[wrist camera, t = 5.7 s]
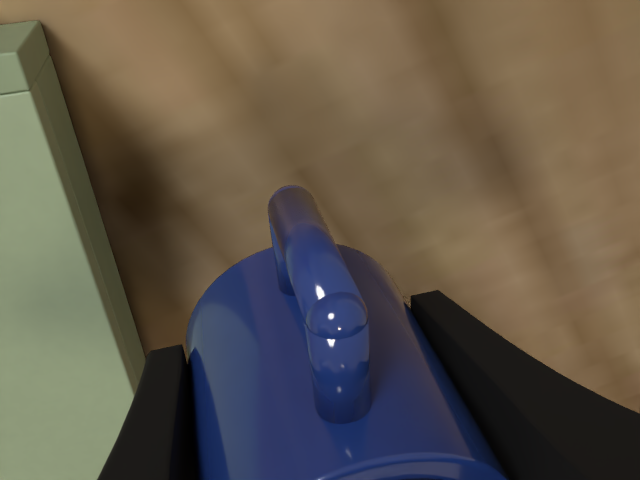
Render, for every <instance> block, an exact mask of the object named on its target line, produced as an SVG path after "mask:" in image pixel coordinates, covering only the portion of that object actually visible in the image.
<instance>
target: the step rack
mask: <svg viewBox="0 0 640 480" xmlns="http://www.w3.org/2000/svg"><path fill="white" fill-rule="evenodd" d="M145 362H146V359H145V355H144V352H143V349H142V346H141V343H140V339H139V336H138V333H137V330H136V327H135V323H134V320H133V317H132V314H131V311H130V307H129V304H128V301H127V298H126V295H125V291H124V288H123V285H122V282H121V279H120V275H119V272H118V269H117V266H116V263H115V260H114V256H113V253H112V250H111V247H110V244H109V240H108V237H107V234H106V231H105V228H104V224H103V221H102V218H101V215H100V212H99V208H98V205H97V202H96V199H95V196H94V192H93V189H92V186H91V183H90V180H89V176H88V173H87V170H86V167H85V164H84V161H83V157H82V154H81V151H80V148H79V145H78V141H77V138H76V135H75V132H74V129H73V125H72V122H71V119H70V116H69V113H68V109H67V106H66V103H65V100H64V97H63V93H62V90H61V87H60V84H59V81H58V77H57V74H56V71H55V68H54V65H53V62H52V58H51V56H50V55H49V48H48V45H47V42H46V39H45V36H44V32H43V29H42V26H41V23H40V21H28V22H20V23H12V24H4V25H0V480H97V479H98V477H99V475H100V473H101V471H102V469H103V466H104V464H105V462H106V460H107V458H108V456H109V454H110V452H111V450H112V448H113V446H114V444H115V442H116V440H117V437H118V435H119V433H120V430H121V428H122V425H123V423H124V421H125V418H126V416H127V413H128V411H129V409H130V406H131V404H132V401H133V398H134V395H135V393H136V390H137V387H138V384H139V381H140V378H141V375H142V372H143V369H144V365H145Z"/></svg>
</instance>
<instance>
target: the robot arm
mask: <svg viewBox="0 0 640 480" xmlns="http://www.w3.org/2000/svg"><path fill="white" fill-rule="evenodd" d="M411 311H412V313H413V314H414V316H415V318H416V320H417V321H418V323H419V325H420V326H421V328H422V330H423V332H424V333H425V335H426V337H427V338H428V340H429V342H430V344H431V345H432V347H433V349H434V350H435V352H436V354H437V356H438V357H439V359H440V361H441V362H442V364H443V366H444V368H445V369H446V371H447V373H448V374H449V376H450V378H451V380H452V381H453V383H454V385H455V386H456V388H457V390H458V391H459V393H460V395H461V397H462V398H463V400H464V402H465V403H466V405H467V407H468V409H469V410H470V412H471V414H472V415H473V417H474V419H475V421H476V422H477V424H478V426H479V427H480V429H481V431H482V433H483V434H484V436H485V438H486V439H487V441H488V443H489V445H490V446H491V448H492V450H493V451H494V453H495V455H496V457H497V458H498V460H499V462H500V463H501V465H502V467H503V469H504V470H505V472H506V474H507V475H508V477H509V479H510V480H640V414H639V413H637V412H635V411H632V410H630V409H628V408H625V407H623V406H621V405H619V404H617V403H615V402H613V401H611V400H608V399H606V398H604V397H602V396H601V395H599V394H597V393H595V392H593V391H591V390H589V389H587V388H585V387H583V386H581V385H579V384H577V383H575V382H574V381H572V380H570V379H568V378H566V377H565V376H563V375H561V374H559V373H558V372H556V371H554V370H553V369H551V368H549V367H548V366H546V365H545V364H543V363H541V362H540V361H538V360H536V359H535V358H533V357H531V356H530V355H528V354H527V353H525V352H524V351H522V350H521V349H519V348H518V347H516V346H515V345H513V344H512V343H510V342H509V341H507V340H506V339H504V338H503V337H502V336H500V335H499V334H497V333H496V332H494V331H493V330H492V329H490V328H489V327H487V326H486V325H485V324H483V323H482V322H481V321H479V320H478V319H476V318H475V317H474V316H472V315H471V314H470V313H468V312H467V311H466V310H464V309H463V308H462V307H460V306H459V305H458V304H456V303H455V302H454V301H452V300H451V299H449V298H448V297H447V296H445V295H444V294H443V293H441V292H440V291H439V290H436V291H431V292H426V293H422V294H417V295H412V296H411ZM97 480H195V468H194V455H193V441H192V427H191V411H190V394H189V380H188V367H187V361H186V357H185V354H184V350H183V346H182V344H181V345H176V346H172V347H167V348H162V349H157V350H153V351H151V352H150V353H149V354H148V356H147V358H146V362H145V365H144V369H143V372H142V375H141V378H140V381H139V384H138V387H137V390H136V393H135V395H134V398H133V401H132V404H131V406H130V409H129V411H128V413H127V416H126V418H125V421H124V423H123V425H122V428H121V430H120V433H119V435H118V437H117V440H116V442H115V444H114V446H113V448H112V450H111V452H110V454H109V456H108V458H107V460H106V462H105V464H104V466H103V469H102V471H101V473H100V475H99V477H98V479H97Z"/></svg>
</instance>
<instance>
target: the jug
mask: <svg viewBox="0 0 640 480" xmlns="http://www.w3.org/2000/svg"><path fill="white" fill-rule="evenodd" d="M268 216H269V223H270V230H271V237H272V245H273V247H271V248H268V249H265V250H262V251H260V252H257V253H255V254H253V255H251V256H249V257H247V258H245V259H243V260H241V261H240V262H238V263H236V264H235V265H233V266H232V267H230V268H229V269H228V270H226V271H225V272H224V273H223V274H222V275H220V276H219V277H218V278H217V279H216V280H215V281H214V282H213V283H212V284H211V285H210V286H209V287H208V289H207V290H206V291H205V293H204V294H203V296H202V297H201V298H200V300H199V301H198V303H197V305H196V307H195V309H194V311H193V312H192V315H191V318H190V321H189V324H188V328H187V334H186V358H187V367H188V380H189V394H190V411H191V427H192V441H193V455H194V468H195V480H510V479H509V477H508V475H507V474H506V472H505V470H504V469H503V467H502V465H501V463H500V462H499V460H498V458H497V457H496V455H495V453H494V451H493V450H492V448H491V446H490V445H489V443H488V441H487V439H486V438H485V436H484V434H483V433H482V431H481V429H480V427H479V426H478V424H477V422H476V421H475V419H474V417H473V415H472V414H471V412H470V410H469V409H468V407H467V405H466V403H465V402H464V400H463V398H462V397H461V395H460V393H459V391H458V390H457V388H456V386H455V385H454V383H453V381H452V380H451V378H450V376H449V374H448V373H447V371H446V369H445V368H444V366H443V364H442V362H441V361H440V359H439V357H438V356H437V354H436V352H435V350H434V349H433V347H432V345H431V344H430V342H429V340H428V338H427V337H426V335H425V333H424V332H423V330H422V328H421V326H420V325H419V323H418V321H417V320H416V318H415V316H414V314H413V313H412V311H411V309H410V308H409V306H408V304H407V302H406V301H405V299H404V297H403V296H402V294H401V292H400V290H399V289H398V287H397V285H396V284H395V282H394V280H393V279H392V278H391V276H390V275H389V273H388V272H387V271H386V270H385V269H384V268H383V267H382V266H381V265H380V264H379V263H378V262H376V261H375V260H374V259H372V258H371V257H369V256H368V255H366V254H364V253H362V252H360V251H358V250H355V249H353V248H350V247H347V246H344V245H340V244H336V243H335V241H334V239H333V237H332V235H331V233H330V231H329V229H328V227H327V225H326V223H325V221H324V219H323V217H322V215H321V213H320V210H319V208H318V206H317V204H316V202H315V200H314V198H313V197H312V195H311V194H310V193H309V192H308V191H307V190H306V189H304V188H302V187H300V186H297V185H288V186H284V187H281V188H280V189H278V190H277V191H276V192H275V193H274V194H273V195H272V196H271V198H270V200H269V204H268Z"/></svg>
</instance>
